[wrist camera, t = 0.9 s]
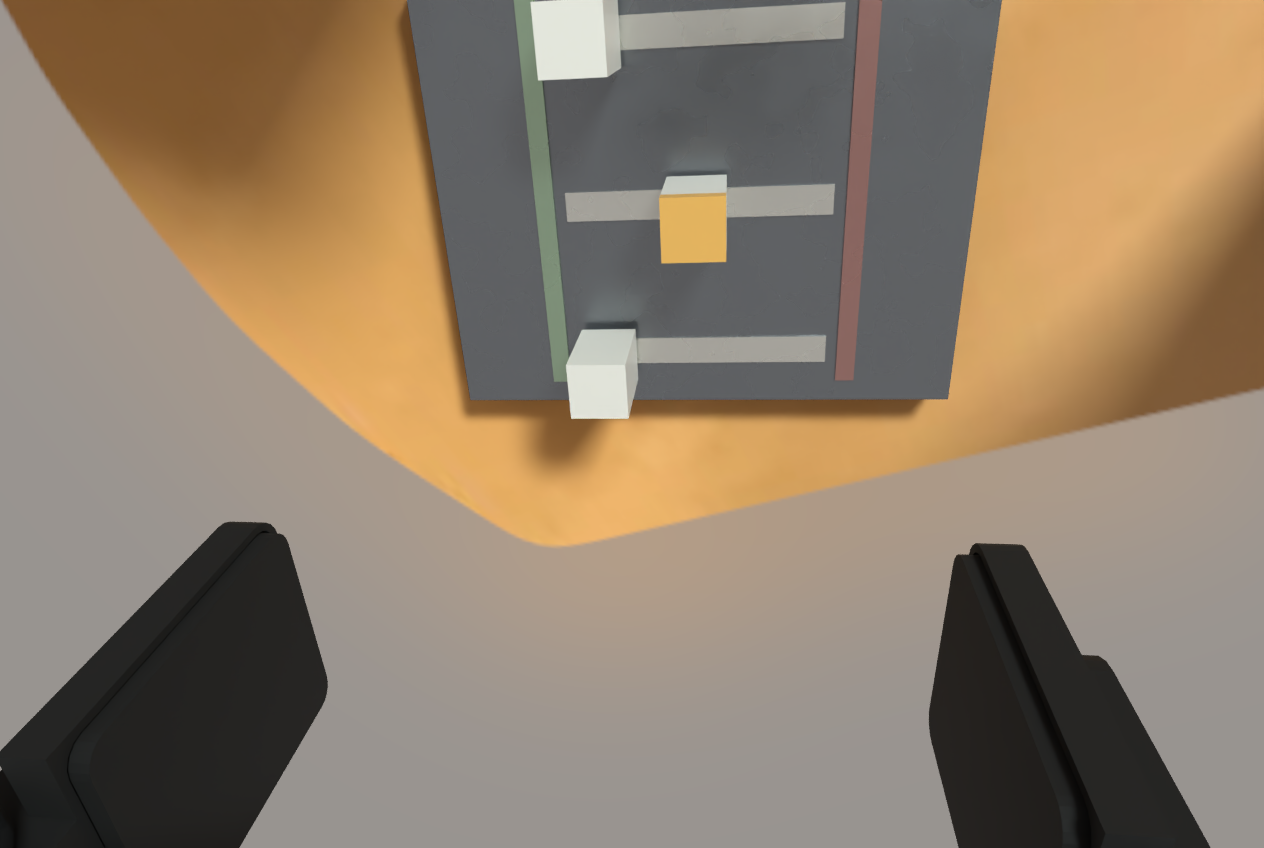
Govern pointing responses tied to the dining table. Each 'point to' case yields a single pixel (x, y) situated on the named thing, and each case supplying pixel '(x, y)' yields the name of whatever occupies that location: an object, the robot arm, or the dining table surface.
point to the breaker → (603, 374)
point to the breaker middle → (693, 219)
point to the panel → (756, 192)
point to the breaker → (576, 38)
